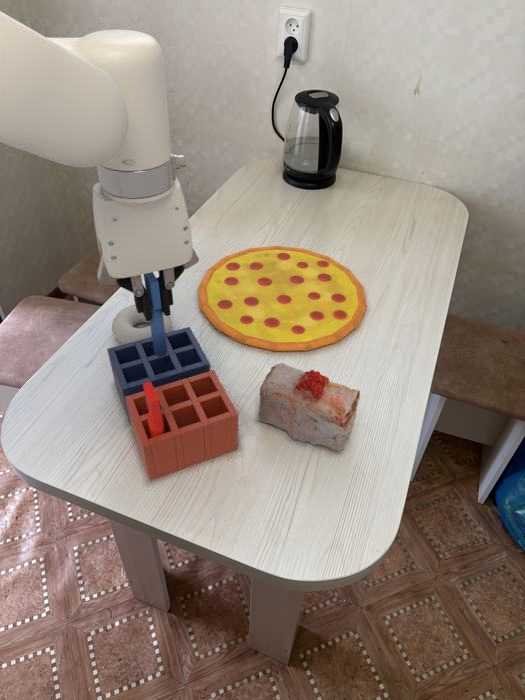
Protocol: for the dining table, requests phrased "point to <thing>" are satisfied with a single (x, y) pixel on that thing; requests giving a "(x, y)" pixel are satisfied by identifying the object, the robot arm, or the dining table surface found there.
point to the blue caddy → (156, 363)
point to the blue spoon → (156, 315)
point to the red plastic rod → (153, 411)
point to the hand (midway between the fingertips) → (155, 311)
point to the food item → (308, 406)
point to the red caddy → (185, 424)
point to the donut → (128, 319)
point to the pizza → (282, 298)
